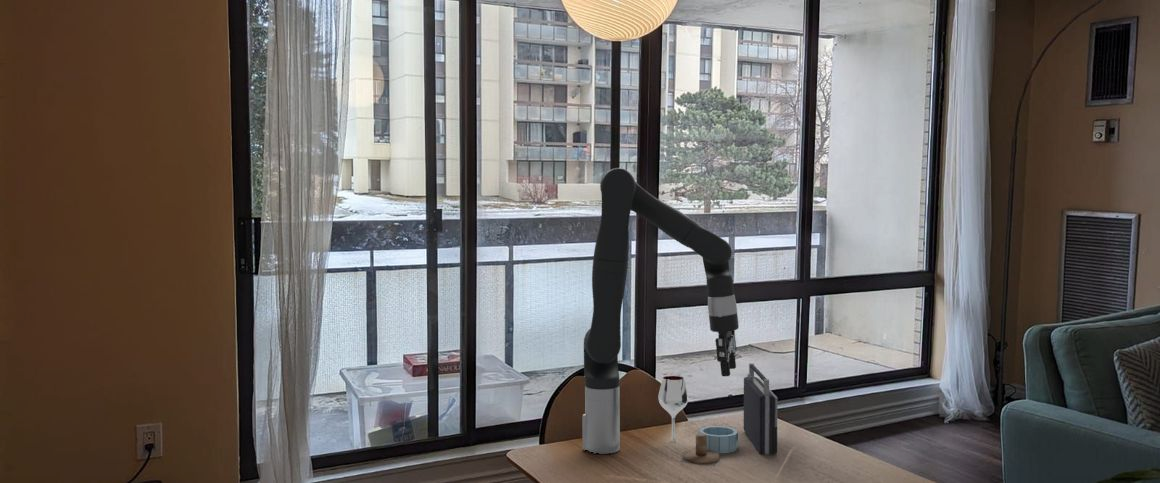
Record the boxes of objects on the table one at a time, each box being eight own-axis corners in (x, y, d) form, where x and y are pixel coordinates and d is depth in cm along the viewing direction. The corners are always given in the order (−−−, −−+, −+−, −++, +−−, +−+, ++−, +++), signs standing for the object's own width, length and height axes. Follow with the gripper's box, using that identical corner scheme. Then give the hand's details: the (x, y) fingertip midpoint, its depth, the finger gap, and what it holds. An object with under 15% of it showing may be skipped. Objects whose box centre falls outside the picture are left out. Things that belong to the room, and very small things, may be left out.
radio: (779, 456, 221) (780, 380, 220) (759, 456, 221) (759, 380, 220) (761, 431, 245) (761, 362, 244) (743, 431, 245) (743, 362, 244)
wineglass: (694, 443, 233) (694, 378, 232) (671, 448, 228) (671, 382, 227) (674, 436, 240) (674, 373, 239) (652, 441, 235) (652, 377, 234)
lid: (679, 461, 215) (679, 438, 215) (688, 451, 224) (688, 429, 223) (714, 465, 212) (714, 441, 212) (722, 455, 220) (722, 432, 220)
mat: (679, 463, 215) (679, 461, 215) (688, 453, 224) (688, 451, 224) (714, 467, 212) (714, 465, 212) (722, 457, 220) (722, 455, 220)
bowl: (695, 452, 224) (695, 434, 224) (704, 442, 234) (704, 424, 233) (733, 456, 221) (733, 437, 220) (740, 446, 230) (740, 428, 230)
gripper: (714, 308, 234) (720, 366, 235) (703, 317, 221) (709, 379, 222) (741, 307, 232) (747, 365, 232) (731, 316, 218) (738, 378, 219)
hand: (729, 372), depth 227 cm, fingers open, 8 cm apart
